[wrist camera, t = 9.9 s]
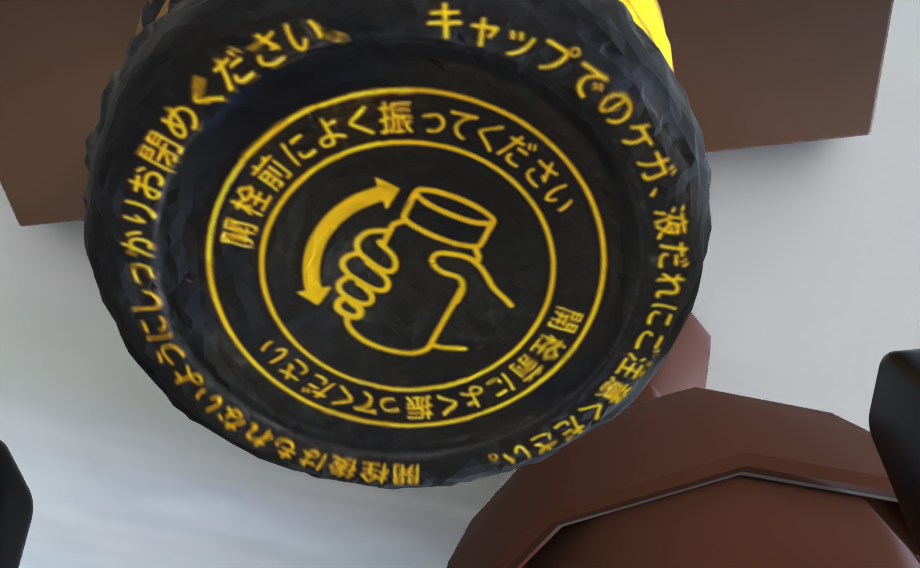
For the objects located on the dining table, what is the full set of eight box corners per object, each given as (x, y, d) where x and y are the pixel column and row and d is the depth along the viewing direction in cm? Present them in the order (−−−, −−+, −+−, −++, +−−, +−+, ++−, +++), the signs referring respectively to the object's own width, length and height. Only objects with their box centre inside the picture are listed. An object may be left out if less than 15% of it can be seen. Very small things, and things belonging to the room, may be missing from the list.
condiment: (599, 93, 18) (815, 505, 8) (231, 171, 19) (13, 640, 9) (551, -302, 15) (848, -440, 4) (93, -187, 15) (-573, -80, 5)
